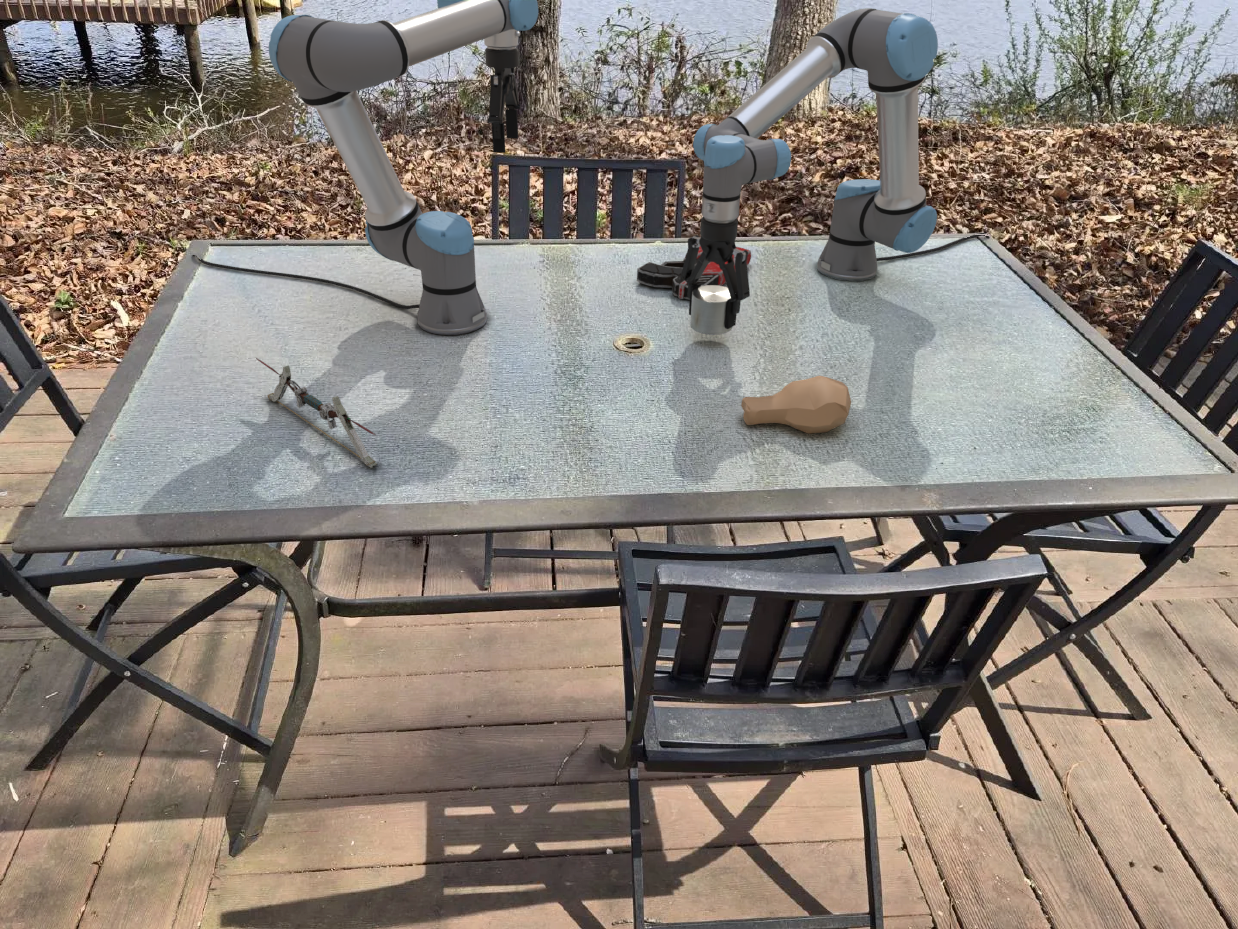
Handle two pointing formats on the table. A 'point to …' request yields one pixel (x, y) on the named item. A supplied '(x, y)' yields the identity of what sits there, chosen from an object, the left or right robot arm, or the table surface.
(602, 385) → the table surface
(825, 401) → the squash
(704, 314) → the canister
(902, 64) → the right robot arm
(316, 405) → the bow
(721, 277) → the gun
